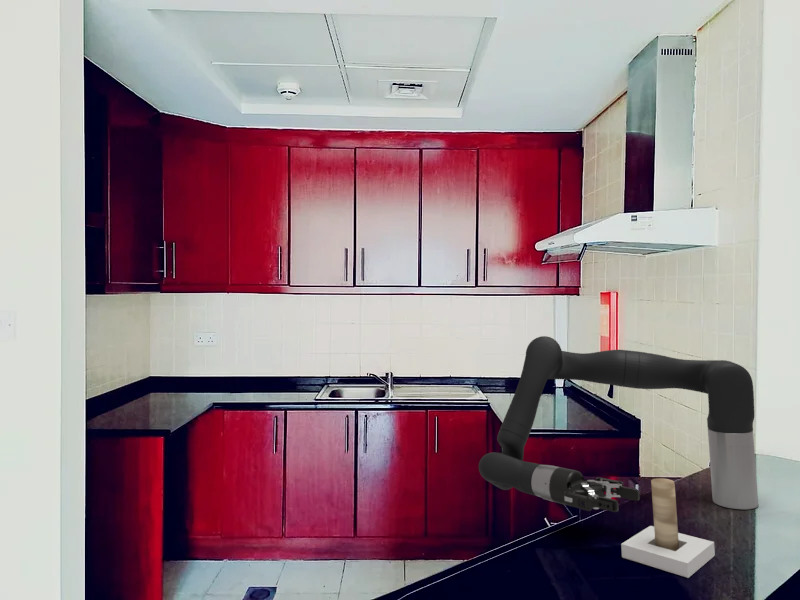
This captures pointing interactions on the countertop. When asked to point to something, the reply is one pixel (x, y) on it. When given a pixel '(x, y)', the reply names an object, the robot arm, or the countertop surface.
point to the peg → (665, 513)
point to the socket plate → (669, 552)
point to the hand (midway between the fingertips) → (628, 500)
